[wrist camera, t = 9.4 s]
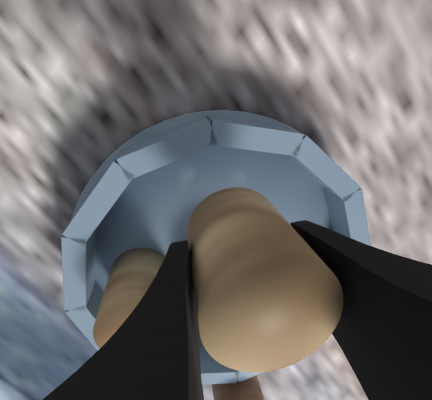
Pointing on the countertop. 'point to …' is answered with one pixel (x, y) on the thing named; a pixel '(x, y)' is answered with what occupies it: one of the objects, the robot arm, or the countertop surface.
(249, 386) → the bead
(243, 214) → the bead
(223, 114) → the ring tray
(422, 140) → the countertop surface
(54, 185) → the countertop surface
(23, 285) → the countertop surface
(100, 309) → the bead
